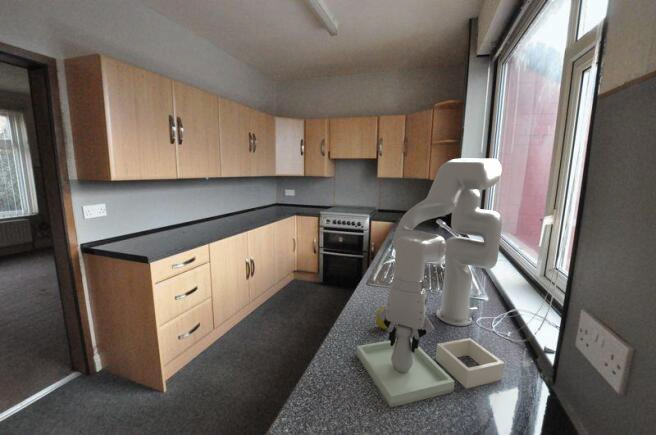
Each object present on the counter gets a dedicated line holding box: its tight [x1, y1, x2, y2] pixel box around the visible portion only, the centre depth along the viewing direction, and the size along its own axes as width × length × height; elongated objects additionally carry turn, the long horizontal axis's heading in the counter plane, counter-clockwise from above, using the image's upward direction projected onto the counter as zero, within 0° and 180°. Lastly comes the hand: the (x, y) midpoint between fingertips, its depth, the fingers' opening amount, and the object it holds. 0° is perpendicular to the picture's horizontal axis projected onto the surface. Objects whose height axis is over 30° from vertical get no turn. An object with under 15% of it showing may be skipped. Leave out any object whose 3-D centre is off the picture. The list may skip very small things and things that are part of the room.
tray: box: [356, 338, 456, 408], centre depth 79 cm, size 18×20×3 cm
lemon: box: [375, 306, 388, 330], centre depth 100 cm, size 6×6×8 cm
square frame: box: [435, 337, 505, 389], centre depth 81 cm, size 12×12×5 cm
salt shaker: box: [391, 324, 414, 373], centre depth 78 cm, size 6×6×13 cm
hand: (403, 345), depth 78 cm, fingers open, 4 cm apart
